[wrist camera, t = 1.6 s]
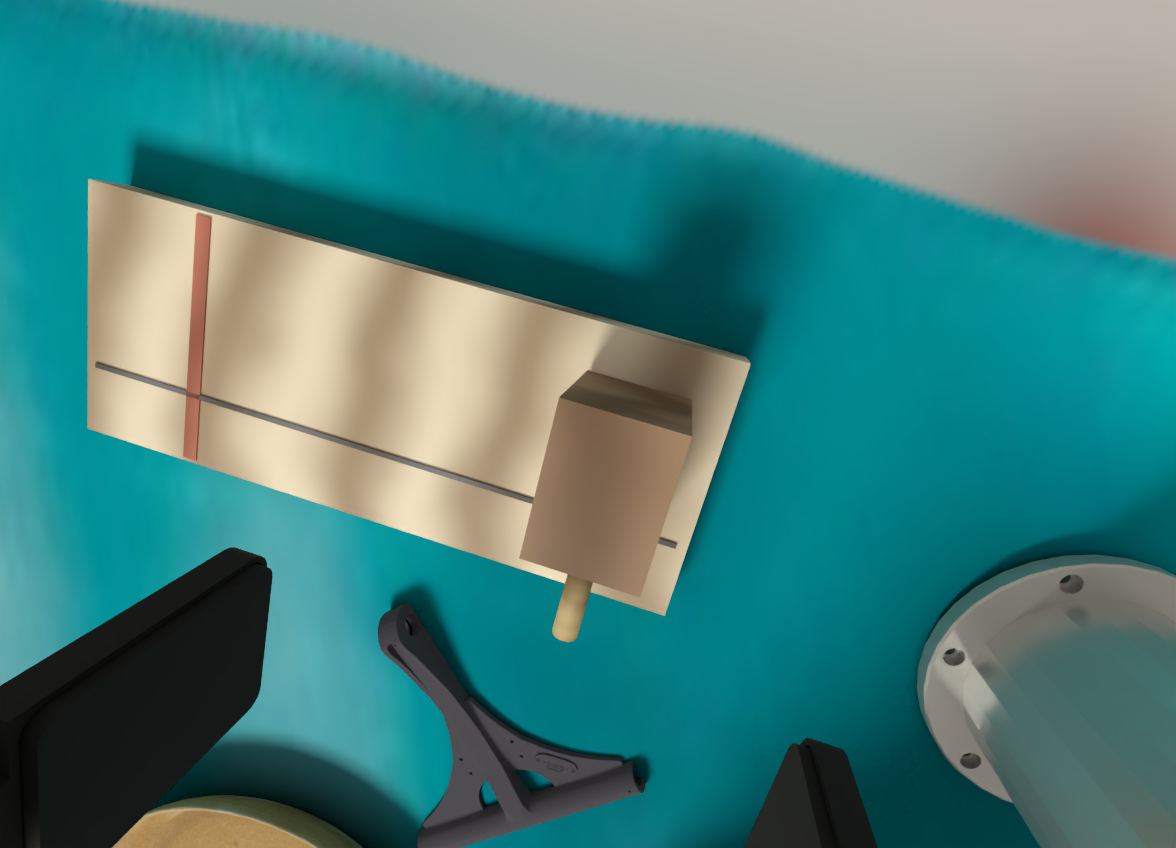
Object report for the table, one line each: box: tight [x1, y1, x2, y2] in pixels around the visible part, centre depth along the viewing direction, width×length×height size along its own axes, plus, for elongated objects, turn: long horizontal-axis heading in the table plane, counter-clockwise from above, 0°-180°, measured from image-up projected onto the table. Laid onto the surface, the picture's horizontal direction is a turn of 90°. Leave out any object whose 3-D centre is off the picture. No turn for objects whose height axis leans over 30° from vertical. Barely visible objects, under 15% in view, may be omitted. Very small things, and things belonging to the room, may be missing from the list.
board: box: [88, 179, 751, 616], centre depth 27 cm, size 30×12×2 cm, turn 76°
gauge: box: [519, 370, 692, 642], centre depth 22 cm, size 4×9×6 cm, turn 166°
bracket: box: [378, 603, 645, 848], centre depth 32 cm, size 14×15×3 cm
